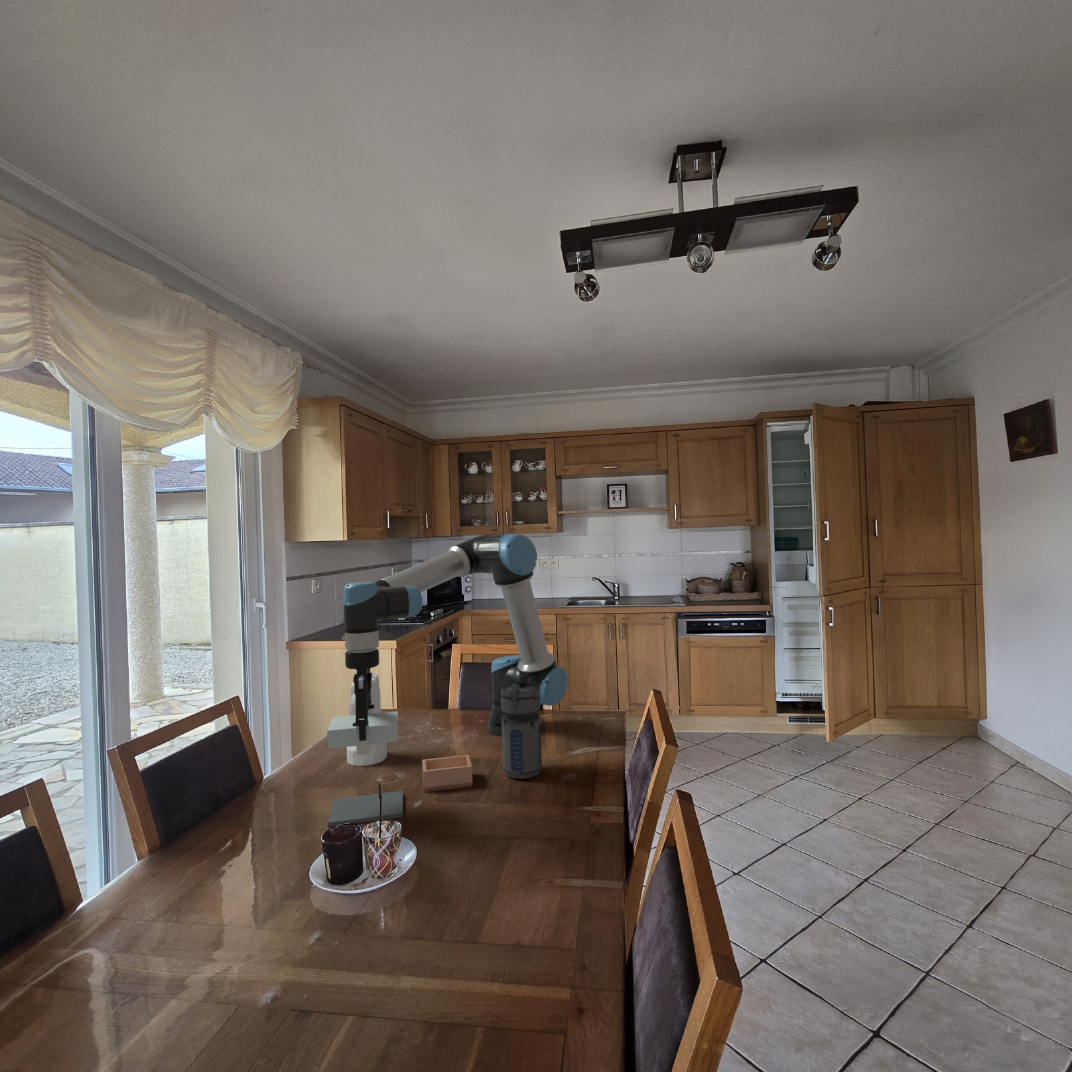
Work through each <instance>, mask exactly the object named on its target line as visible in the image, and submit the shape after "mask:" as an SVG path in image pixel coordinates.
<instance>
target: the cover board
mask: <svg viewBox="0 0 1072 1072" xmlns="http://www.w3.org/2000/svg"><path fill="white" fill-rule="evenodd" d="M398 712H399V711H397V710H396V711H387V712H382V713H374V714H368V721H369V745H371V744H381V743H387V744H390V743H398V741H399V740H398V739H399V714H398ZM359 720H363V719H359ZM355 721H356V715H351V716H350V715H345V716H343V715H341V716H333V717H332V718H331V720H330V723H329V725H328V728H327V730H326V735H327V750H328V749H339V748H347V747H351V746H357V742H356V726H354V727H353V723H355Z"/></svg>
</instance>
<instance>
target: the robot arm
mask: <svg viewBox="0 0 1072 1072" xmlns="http://www.w3.org/2000/svg"><path fill="white" fill-rule="evenodd" d="M537 561H538V552H537V548H536V546H535V545H534V543H533V541H532V540H531V539H530V538H529V537H527V536H526V535H524V534H522V533H521V534H520V533H514V532H513V533H512V532H509V533H498V534H497V533H495V534H494V533H493V534H491V533H489V534H487V533H486V534H482V535H478V536H475V537H473V538H470V539H467V540H465V541H462V542H460V543H458V544H456V545H453V546H451V547H450V548H449V549H448V550H447V552H445V553H443V554H440V555H438V556H435V557H433V558H430V559H428V560H425V561H422V562H421V563H418V564H416V565H413V566H411V567H408V568H406V569H404V570H401V571H399V572H396V573H393V574H391V575H388V576H386V577H383V578H381V579H379V580H376V581H358V582H350V583H346V584H345V586H344V587H343V596H342V597H343V598H342V599H343V600H342V605H343V624H344V635H343V636H342V637H341V640H342V641H344V649H345V650H347V651H345V653H344V658H345V659H344V660H345V661H344V663H345V667H346V669H349V670H356V673H354V676H353V677H352V679H353V680H352V683H353V682H354V693H355V711H356V721H355V723H353V727H354V726H356V742H357V755H363V754H370V745H369V721H368V714H372V711H371V710H369V709H374V704H373V705H371V703H372V701H371V686H372V673H373V672H371V673H370V671H371V669H372V668H376V667H377V666H379V665H380V650H379V649H378V647H380V638H379V637H380V636H379V635H380V633H379V632H380V631H379V622H384V621H388V620H396V619H397V620H398V619H403V618H406V619H408V618H410V617H414V616H417V615H419V613H420V612H421V611H422V608H423V595H422V593H423V592H425V591H427V590H429V589H432V588H434V587H436V586H438V585H441V584H443V583H445V582H447V581H450V580H452V579H454V578H457V577H459V578H465V577H467V576H470V575H473V574H492V578H493V581H494V584H495V586H497V587H499V588H501V590H502V595H503V598H504V602H505V605H506V609H507V612H508V616H509V621H510V624H511V629H512V632H513V635H514V640H515V642H516V646H517V650H518V654H514V655H508V656H507V655H506V656H500V657H498V658H495V659H493V661H492V662H491V671H490V676H491V698H492V707H491V710H490V714H489V718H488V719H487V731H488V732H489V733H490V734H492V735H496V736H500V737H502V717H503V716H504V715H505V714H504V713H503V711H502V710H501V689H502V687H504V688H503V689H504V690H505V689H507V688H509V687H512V682H519V681H520V678H521V677H522V676H523V675H527V676H529V678H530V685H531V687H533V688H538V690H539V696H540V706H548V707H549V706H550V707H551V706H554V705H557V704H559V702H561V701H562V700H563V698H564V696H565V695H566V692H567V689H568V683H569V678H568V677H569V676H568V673H567V671H566V670H565V669H564V668H563V667H561V666H557V661H556V658H555V655H554V654H553V653H550V652H549V651H548V647H547V646H548V645H547V642H546V638H545V635H544V631H543V626H542V623H541V619H540V615H539V610H538V608H537V603H536V599H535V596H534V592H533V588H532V583H531V580H532V578H533V576H534V570H535V568H536V566H537ZM518 686H520V684H518ZM359 719H363V720H359Z"/></svg>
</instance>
